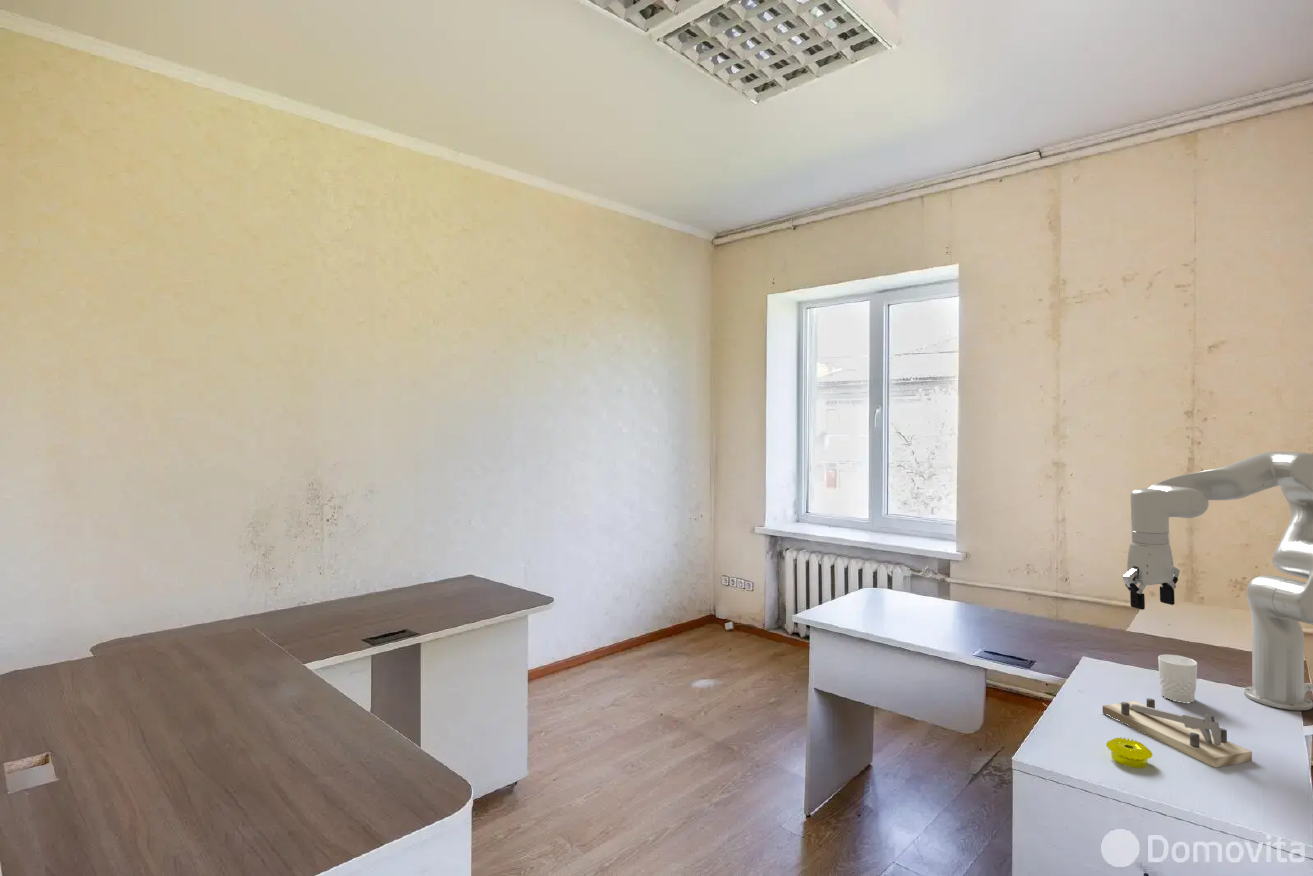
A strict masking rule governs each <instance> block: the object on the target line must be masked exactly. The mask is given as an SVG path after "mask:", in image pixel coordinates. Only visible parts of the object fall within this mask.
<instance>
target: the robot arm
mask: <svg viewBox="0 0 1313 876" xmlns="http://www.w3.org/2000/svg"><path fill="white" fill-rule="evenodd" d="M1279 486H1280V490H1281V493H1282V494H1283V496H1284V498H1285V499H1286V501H1287V503H1288V505H1289V509H1290V520H1289V522H1288V524H1287V526H1286V528H1285V531H1284V533H1283V534H1282V536H1281V538H1280V540H1279V542H1278V544H1277V546H1276V547H1275V550H1274V552H1273V554H1272V559H1271V560H1272V564H1273V566H1274V567H1275V568H1276V569H1277V571H1278V570H1279V571H1280V572H1281V573H1285V574H1287V575H1291V576H1293V577H1299V578H1302V579H1306V582H1304V581H1299V580H1296V579H1292V578H1287V577H1283V576H1278V575H1272V574H1271V575H1270V574H1265V575H1264V574H1262V575H1259V576H1256V577H1254V578H1253V579H1251V580H1250V581H1249V582H1248V584H1247V586H1246V599H1247V603H1248V608H1249V611H1250V616H1251V636H1252V637H1251V658H1252V659H1251V661H1252V662H1251V663H1252V664H1251V666H1252V667H1251V668H1252V669H1251V670H1252V672H1251V673H1252V674H1251V677H1252V678H1251V679H1252V680H1251V681H1252V685H1251V686H1247V687H1245V688H1244V689H1243V690H1244V691H1243V692H1244V695H1245V697H1247V698H1248V699H1250V700H1252V701H1255V702H1257V703H1259V704H1261V705H1265V706H1269V707H1273V708H1277V709H1282V710H1289V711H1309V710H1311V709H1313V701H1312V700H1311V699H1310V698H1309V697H1307V696H1306V693H1307V692H1313V683H1311V682H1305V651H1304V649H1305V646H1304V645H1305V636H1304V635H1305V634H1304V630H1303V627H1302V626H1301V623H1305V624H1307V625H1313V453H1310V452H1309V453H1308V452H1294V451H1265V452H1262V453H1261V452H1260V453H1259V454H1256V455H1252V456H1250V457H1247V458H1245V459H1241V460H1239V461H1236V462H1233V463H1230V464H1227V465H1225V466H1222V467H1218V468H1212V469H1207V470H1202V471H1198V472H1197V471H1196V472H1192V473H1191V472H1190V473H1186V474H1181V475H1176V476H1173V477H1170V478H1167V479H1164V480H1161V481H1159V482H1156V483H1153V484H1152V485H1150V486H1148V488H1136V489H1134V490H1132V491H1131V493H1130V520H1131V521H1130V522H1131V524H1130V525H1131V543H1130V544H1129V548H1128V555H1127V563H1126V564H1127V565H1126V566H1127V567H1126V571H1127V572H1126V573H1125V574H1123V575H1122V580H1123V582H1124V583H1125V584H1124V585H1125V587H1126V588H1127V590H1128V591H1129V595H1130V607H1131V608H1134V609H1137V610H1141V611H1142V610H1145V608H1146V601H1145V600H1146V598H1145V593H1143V592H1144V590H1145V588H1146V587H1147V586H1153V585H1155V586H1156V585H1161V586H1159V601H1160V603H1162V604H1166V605H1170V606H1174V605H1175V604H1176V603H1175V601H1176V600H1175V589H1176V588H1177V585H1176V584H1177V582H1178V581H1179V575H1180V572H1181V571H1180V569H1179V568H1177V567H1176V566H1174V558H1173V553H1172V548H1171V543H1170V518H1182V519H1194V518H1197V517H1200V516H1202V515H1204V513H1206V512H1207V510H1208V508H1209V501H1232V500H1241V499H1243V498H1246V497H1249V496H1251V495H1254V494H1257V493H1260V492H1263V491H1266V490H1268V489H1271V488H1275V487H1279Z"/></svg>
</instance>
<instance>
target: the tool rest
mask: <svg viewBox="0 0 1313 876" xmlns="http://www.w3.org/2000/svg"><path fill="white" fill-rule="evenodd" d="M1155 701H1156V700H1155V699H1154V698H1149V697H1148V698H1146V704H1144V703H1141V702H1139V701H1136V700H1132V701H1126V702H1125V701H1121V702H1119V703H1118V702H1117V703H1113V704H1111V703H1110V704H1105V705H1102V714H1103V713H1104V714H1108V715H1110V716H1111V717H1113V718H1115V719H1118V720H1120V721H1121V722H1123V723H1126V724H1128V725H1129V726H1131V727H1133V728H1135V729H1137V730H1136V731H1138V730H1139V731H1138V732H1140V733H1142V732H1143V733H1142V734H1144V733H1145V734H1144V735H1146V734H1147V735H1146V736H1148V735H1149V736H1148V737H1150V738H1152V737H1154V738H1155V740H1156V739H1157V740H1156V741H1158V742H1161V743H1162V744H1165V745H1167V746H1169V747H1171V748H1174V749H1175V750H1178V751H1180V752H1182V753H1184V754H1186V755H1188V756H1190V757H1192V758H1194V759H1197V760H1198V761H1200V762H1203V763H1205V764H1207V765H1209V766H1211V767H1214V768H1220V767H1227V766H1231V765H1236V764H1237V765H1238V764H1243V763H1247V762H1248V763H1249V762H1252V761H1253V751H1251V750H1250V749H1248V748H1246V747H1243V746H1241V745H1238V744H1236V743H1233V742H1231V741H1229V740H1228V731H1227V729H1225V728H1221V727H1220V731H1221V745H1218V746H1215V744H1214V740H1213V736H1212V732H1210V735H1211V740H1212V744H1208V743H1207V742H1206V741H1205V739H1204V737H1203V735H1202V733H1201V730H1200V729H1198V728H1197V729H1191V728H1186V727H1185V725H1184V723H1181V722H1177V721H1173V720H1169V719H1165V718H1161V717H1157V716H1153V715H1149V714H1145V713H1141V712H1137V711H1133V708H1129V706H1130V705H1132V704H1137V705H1142V706H1146V707H1150V708H1154V709H1156V702H1155ZM1104 714H1103V715H1104ZM1115 719H1114V720H1115ZM1121 722H1120V723H1121ZM1123 723H1122V724H1123ZM1129 726H1128V727H1129ZM1131 727H1130V728H1131ZM1133 728H1132V729H1133ZM1135 729H1134V730H1135ZM1154 738H1153V739H1154Z"/></svg>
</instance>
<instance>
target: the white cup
mask: <svg viewBox="0 0 1313 876" xmlns="http://www.w3.org/2000/svg"><path fill="white" fill-rule="evenodd" d="M1157 659H1158V660H1157V661H1158V662H1157V663H1158V675H1159V678H1158V679H1159V685H1160V693H1161V697H1163V696H1164V697H1166V698H1168V699H1170V700H1169V701H1171V700H1176V701H1181V702H1185V703H1184V704H1188V703H1187V702H1193V701H1194V702H1195V697H1196V696H1195V695H1196V694H1195V693H1196V690H1197V689H1196V687H1197V677H1198V676H1197V675H1198V662H1197V661H1196V660H1194V659H1192V658H1189V657H1188V656H1187V657H1186V656H1183V655H1177V654H1160V655H1158V657H1157ZM1164 697H1163V698H1164ZM1166 698H1165V699H1166ZM1168 699H1167V700H1168ZM1194 702H1193V703H1194Z"/></svg>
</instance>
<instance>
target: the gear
mask: <svg viewBox="0 0 1313 876" xmlns="http://www.w3.org/2000/svg"><path fill="white" fill-rule="evenodd" d="M1105 744H1106V747H1107V749H1109V750H1110V751H1111V759H1112V760H1113V761H1114V760H1115V761H1114V762H1116V763H1118V764H1119V765H1122V766H1125V765H1126V766H1125V767H1128V766H1129V767H1128V768H1133V767H1134V769H1143V768H1146V767H1147V766H1148V759H1151V758H1152V757H1153V752H1152V751H1151V750H1150V749H1149V748H1148V747H1147V746H1146V745H1144V744H1143V743H1141V742H1140V741H1137V740H1134V739H1133V738H1131V739H1130V738H1129V737H1128V738H1127V739H1126V737H1124V738H1123V737H1115V738H1112V739H1110V740H1108V741H1107V742H1106V743H1105Z"/></svg>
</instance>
